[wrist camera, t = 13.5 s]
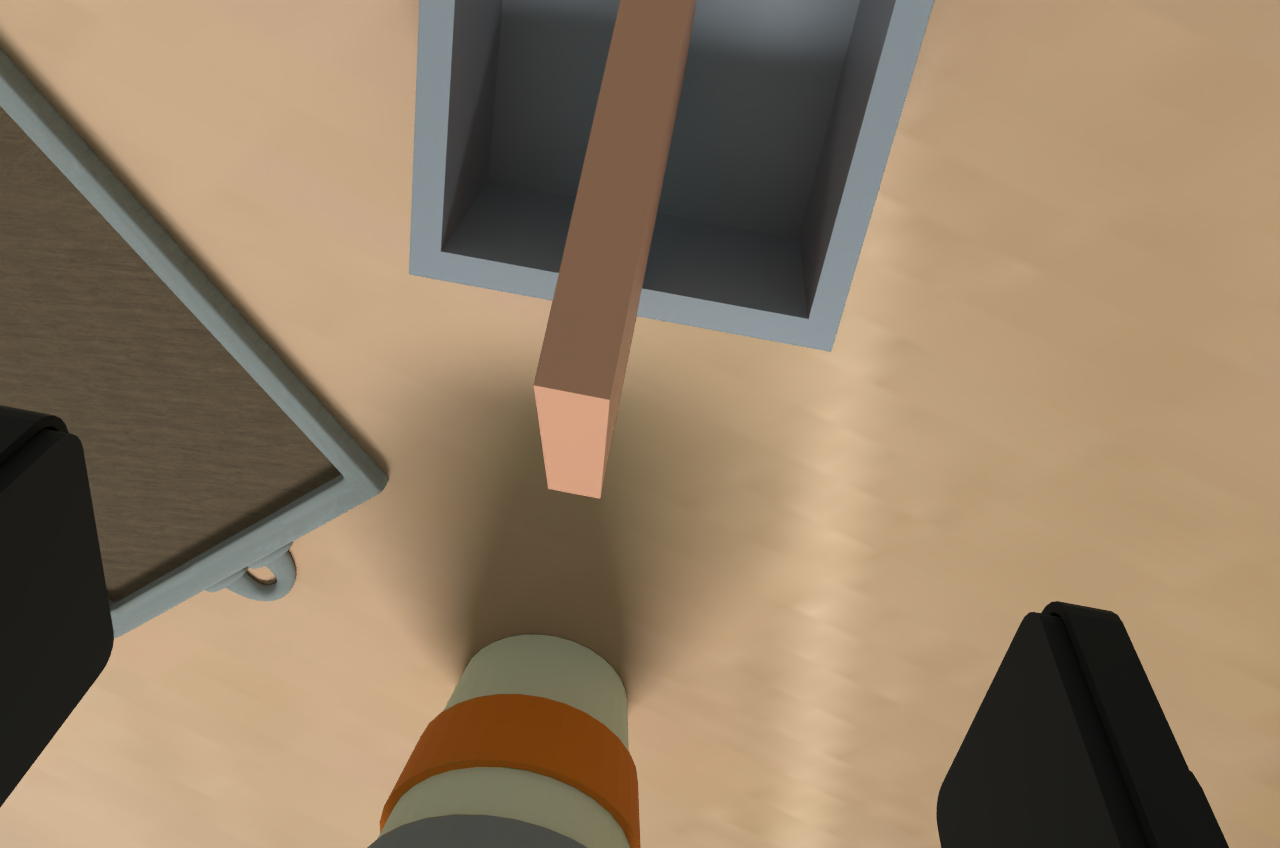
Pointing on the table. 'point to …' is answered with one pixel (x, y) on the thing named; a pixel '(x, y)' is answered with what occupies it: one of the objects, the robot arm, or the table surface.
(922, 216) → the table surface
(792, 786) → the table surface
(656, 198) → the block
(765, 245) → the bin
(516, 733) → the reusable coffee cup
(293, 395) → the grey flat rectangular tray
